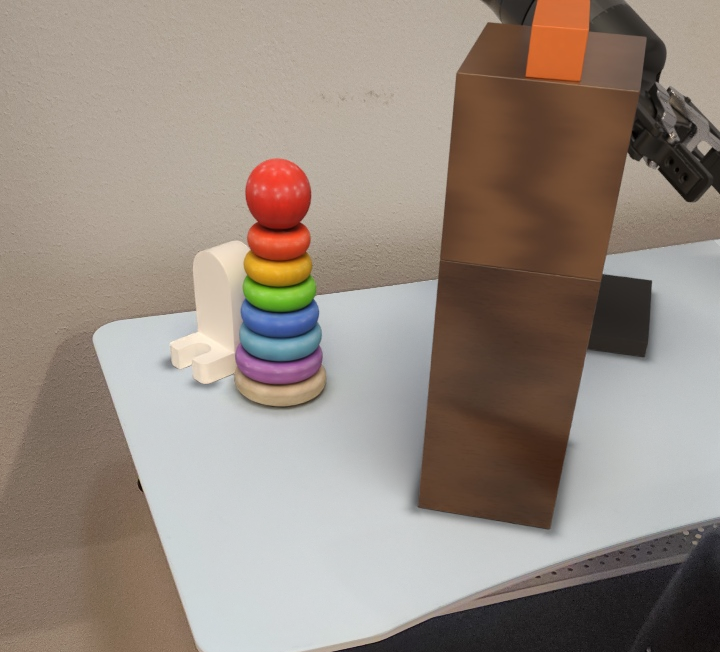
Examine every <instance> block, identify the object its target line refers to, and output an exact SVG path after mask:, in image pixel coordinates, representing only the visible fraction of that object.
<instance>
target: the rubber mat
mask: <svg viewBox="0 0 720 652" xmlns="http://www.w3.org/2000/svg"><path fill="white" fill-rule="evenodd" d="M652 291H653V280H652V279H644V278H637V277H629V276H622V275H621V276H620V275H614V274H606V273H603V274H602V279H601V284H600V289H599V294H598V299H597V303H596V308H595V313H594V318H593V323H592V328H591V333H590V338H589V342H588V347H587V350H592V351H597V352H598V351H599V352H607V353H613V354H619V355H620V354H621V355H628V356H633V357H643V358H645V357H646V354H647V350H648V346H649V337H650V323H651V322H650V320H651V304H652Z"/></svg>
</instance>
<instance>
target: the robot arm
mask: <svg viewBox="0 0 720 652" xmlns="http://www.w3.org/2000/svg"><path fill="white" fill-rule="evenodd" d="M479 1H480V2H482V3H483V5H485V6H486V7H488V8H489V9H490V10H491V11H492V12H493V14H494V15H495V17H497V19H498V20H499V22H500V23H503V24H513V25H524V26H532V23H533V19H534V14H535V9H536V5H537V0H479ZM589 32H599V33H610V34H620V35H631V36H642V37H646V38H647V39H646V47H645V55H644V63H643V71H642V79H641V87H640V94H639V99H638V104H637V109H636V114H635V118H634V123H633V128H632V133H631V138H630V143H629V148H628V152H627V155H628V157H629V158H630V159H631V160H633V161H636V162H638V163H639V162H641V160H643V161H644V163H645V165H646V166H647V167H648V168H650V169H652V170H657V171H658V172H659V173H660V174H661V175H662V177H664V179H665V180H666V181H667V182H668V183H669V184H670V185H671V186H672V188H673V189H674V190H675V192H677V193H678V194H679V196H680V197H681V198H682V199H683V200H684V201H685V202H686V203H691V204H692V203H693V204H694V203H697V202H698V201H699V200H700V199H701V198H702V197H703V196H704V194H706V192H707V191H708V190H709V189H710V188H711V187H712V188H713V189H714V190H715V191H716V192H717V193H718V194H719V195H720V130H719V129H718V128H717V127H716V126H715V125H714V124H713V123H712V122H711V121H710V120H709V119H708V118H707V116H705V115H704V113H702V111H701V110H700V109H699V108H698V107H697V106H696V105H695V104H694V103H693V102H692V99H691V98H690V97H689V96H685V95H683V94H682V93H681V92H680V91H678V90H677V89H676V88H675V87H673V86H672V85H669V86H668V87H667V89H666V88H665V87H664V86H663V85H662V84H661V83H660V79H661V75H662V72H663V70H664V68H665V66H666V63H667V56H668V55H667V53H668V51H667V50H668V49H667V46H666V44H665V42H664V41H663V40H662V38H660V36H659V35H658V34H657V33H656V32H655V31H654V30H653V29H652V27H650V26H649V25H648V24H647V22H645V20H644V19H643V18H642V17H641V16H640V14H638V12H636V10H634V9H633V7H632V6H631V5H630V4H629V3H628V2H627V1H626V0H590V16H589ZM702 142H705V143H707V144H708V145H709V146H710V147H711V148H710V149H709V150H708V151H707V152H706V154H704V153H703V152H702V151H701V150H700V149H699V148H698V145H700V143H702Z"/></svg>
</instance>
